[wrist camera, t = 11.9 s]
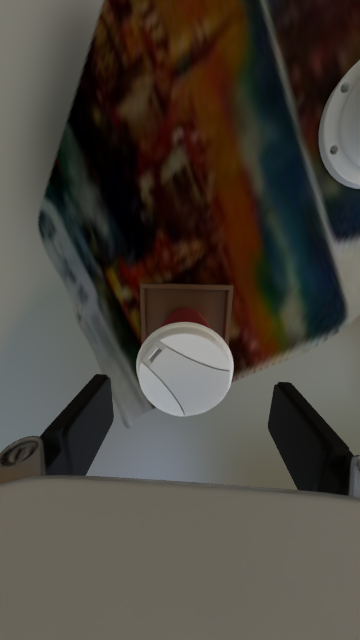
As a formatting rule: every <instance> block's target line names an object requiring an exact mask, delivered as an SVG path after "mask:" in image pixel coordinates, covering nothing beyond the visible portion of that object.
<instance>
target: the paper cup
mask: <svg viewBox="0 0 360 640" xmlns="http://www.w3.org/2000/svg"><path fill="white" fill-rule="evenodd" d="M233 367H234V365H233V358H232V355H231V351H230V349H229V347H228V345H227V344H226V343H225V341H224V340H223V339H222V338H221V337H220V336H219V335H218V334H217V333H216V332H214V331H213V330H212V329H211V328H210V326H209V325H208V324H207V322H206V321H205V319H204V318H203V317H202V315H201V314H200V313H199V312H197V311H196V310H194V309H192V308H186V307H185V308H179V309H177V310H175V311H173V312H172V313H171V314H170V315H169V316H168V318H167V319H166V320H165V321H164V323H163V324H162V325H161V327H160V328H159V329H157V330H156V331H155V332H153V333H152V334H151V335H150V336H149V337H148V338H147V339H146V340H145V342H144V343H143V344H142V346H141V348H140V350H139V353H138V357H137V363H136V369H137V375H138V379H139V383H140V386H141V389H142V391H143V393H144V394H145V396H146V398H147V399H148V400H149V401H150V402H151V403H152V404H153V405H154V406H155V407H157V408H158V409H160V410H162V411H163V412H166V413H168V414H172V415H176V416H191V415H196V414H200V413H203V412H206V411H208V410H209V409H211V408H212V407H214V406H216V405H217V404H218V403H219V402H220V401H221V400H222V399H223V398H224V397H225V395H226V393H227V391H228V389H229V388H230V386H231V380H232V376H233Z"/></svg>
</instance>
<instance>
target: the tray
mask: <svg viewBox="0 0 360 640" xmlns="http://www.w3.org/2000/svg"><path fill="white" fill-rule="evenodd" d="M232 297H233V285H225V284H169V283H141V284H140V308H141V338H142V344H143V343H144V342H145V340H146V339H147V338H148V337H149V336H150V335H151V334H152V333H153V332H155V331H156V330H157V329H159V328H160V327H161V325H162V324H163V323H164V321H165V320H166V319H167V318H168V316H169V315H170V314H171V313H172V312H173V311H175V310H177V309H179V308H185V307H186V308H192V309H194V310H196V311H197V312H199V313H200V314H201V315H202V317H203V318H204V319H205V321H206V322H207V324H208V325H209V326H210V328H211V329H212V330H213V331H214V332H216V333H217V334H218V335H219V336H220V337H221V338H222V339H223V340H224V341H225V343H226V344H227V345H228V346H229V333H230V321H231V309H232Z"/></svg>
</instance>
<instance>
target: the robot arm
mask: <svg viewBox="0 0 360 640" xmlns="http://www.w3.org/2000/svg"><path fill="white" fill-rule="evenodd" d="M319 149H320V155H321V158H322V161H323V163H324V166H325V167H326V169H327V170H328V172H329V173H330V175H331V176H332V177H333V178H335V179H336V180H337V181H338V182H340V183H342V184H343V185H345V186H348V187H351V188H355V189H360V60H359V61H358V62H357V63H356V64H355V65H354V66H353V67H352V68H350V69H349V71H348V72H347V73H346V74H345V76H344V77H343V78H342V79H341V80H340V82H339V83H338V84H337V86H336V87H335V89H334V90H333V92H332V93H331V95H330V97H329V99H328V101H327V103H326V105H325V107H324V111H323V114H322V117H321V120H320V127H319ZM113 418H114V415H113V403H112V392H111V381H110V378H109V377H107V375H102V374H96V375H95V376H94V377H93V378H92V379H91V380H90V381H89V383H88V384H87V385H86V386H85V387H84V388H83V389H82V390H81V391H80V392H79V394H78V395H77V396H76V397H75V398H74V399H73V400H72V401H71V403H69V404H68V406H67V407H66V408H65V409H64V410H63V411H62V412H61V413H60V414H59V416H58V417H57V418H56V419H55V420H54V421H53V422H52V423H51V425H49V427H48V428H47V429H46V430H45V431H44V432H43V434H42V435H41V436H40V437H39V436H28V437H25V438H22V439H19V440H17V441H15V442H13V443H12V444H10V445H9V446H7V447H6V448H5V449H4V450H3V451H2V452H1V453H0V640H360V455H356V456H354V455H353V454H352V453H351V452H350V451H349V447H348V446H347V445H346V444H345V443H344V442H343V441H342V439H341V438H340V437H339V436H338V435H337V434H336V433H335V432H334V431H333V429H332V428H331V427H330V426H329V425H328V424H327V423H326V422H325V420H324V419H323V418H322V417H321V416H320V415H319V414H318V413H317V412H316V410H315V409H314V408H313V407H312V406H311V405H310V404H309V403H308V402H307V400H306V399H305V398H304V397H303V396H302V395H301V394H300V393H299V391H298V390H297V389H296V388H295V387H294V386H293V385H292V384H291V383H289V382H278V384H277V385H275V386H274V391H273V397H272V403H271V409H270V415H269V421H268V429H269V432H270V434H271V436H272V438H273V440H274V442H275V444H276V446H277V448H278V450H279V453H280V455H281V457H282V459H283V461H284V463H285V465H286V467H287V469H288V471H289V473H290V475H291V477H292V479H293V481H294V483H295V485H296V487H297V489H298V490H291V489H278V488H264V487H251V486H238V485H223V484H210V483H195V482H180V481H166V480H148V479H134V478H117V477H99V476H86V474H87V472H88V470H89V468H90V466H91V464H92V462H93V460H94V458H95V456H96V454H97V452H98V450H99V448H100V446H101V444H102V442H103V440H104V438H105V436H106V434H107V432H108V430H109V429H110V426H111V425H112V422H113Z"/></svg>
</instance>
